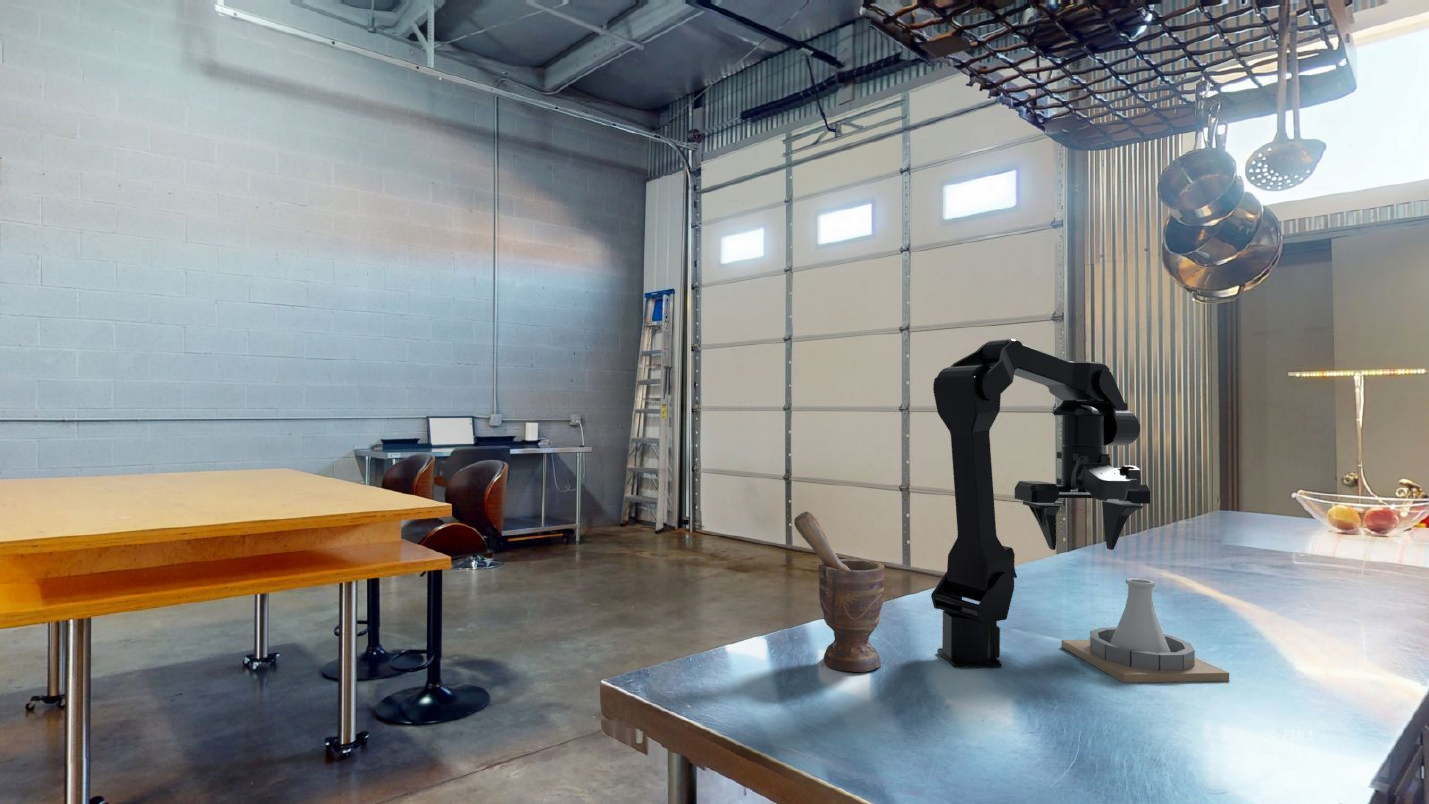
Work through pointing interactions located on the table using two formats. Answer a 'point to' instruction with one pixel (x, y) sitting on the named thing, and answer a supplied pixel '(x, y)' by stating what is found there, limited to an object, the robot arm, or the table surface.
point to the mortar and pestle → (846, 600)
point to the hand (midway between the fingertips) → (1081, 549)
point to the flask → (1140, 620)
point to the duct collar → (1144, 660)
